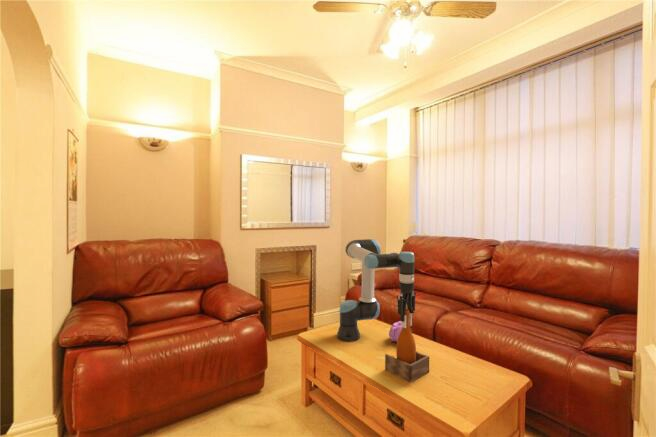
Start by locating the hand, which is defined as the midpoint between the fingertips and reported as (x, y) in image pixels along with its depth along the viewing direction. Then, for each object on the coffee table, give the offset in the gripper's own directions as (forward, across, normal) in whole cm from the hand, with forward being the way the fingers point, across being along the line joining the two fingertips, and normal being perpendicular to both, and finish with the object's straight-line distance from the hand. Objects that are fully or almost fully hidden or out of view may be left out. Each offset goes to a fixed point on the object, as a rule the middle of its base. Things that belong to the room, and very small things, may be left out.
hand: (406, 326), depth 163 cm
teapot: (+24, +29, +25) cm, 45 cm away
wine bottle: (+21, 0, 0) cm, 21 cm away
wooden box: (+24, 0, -1) cm, 24 cm away
